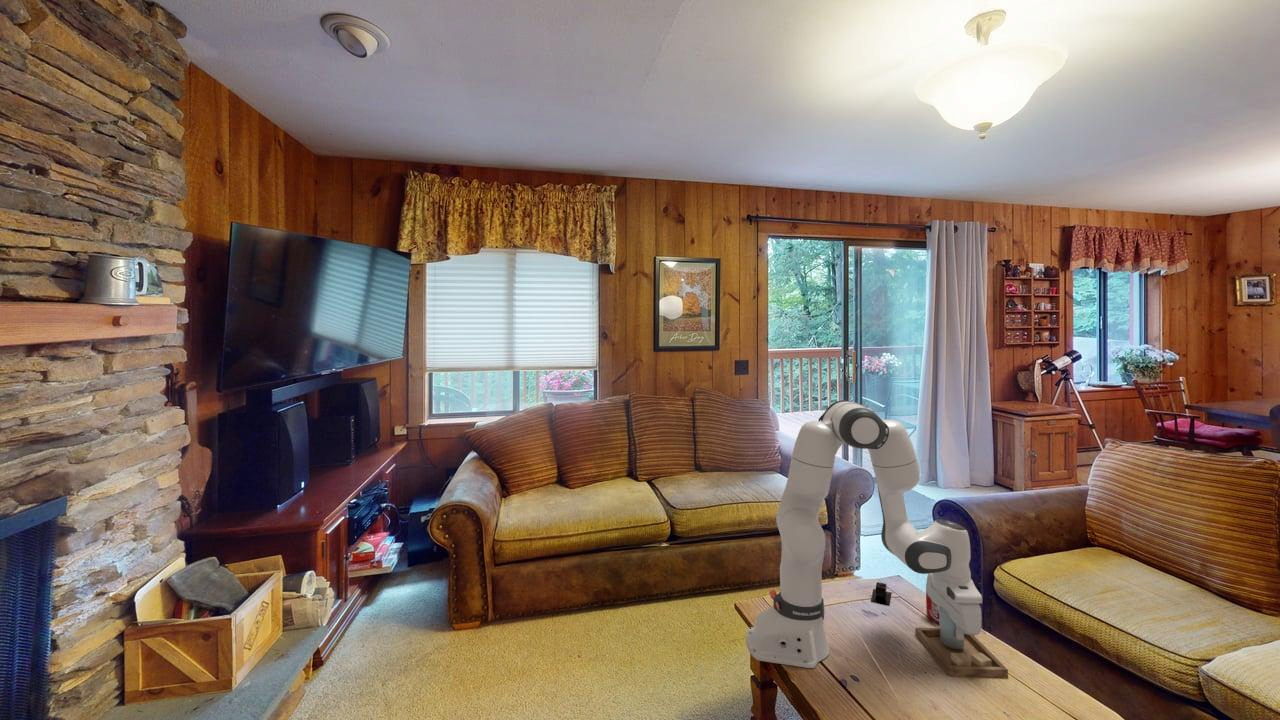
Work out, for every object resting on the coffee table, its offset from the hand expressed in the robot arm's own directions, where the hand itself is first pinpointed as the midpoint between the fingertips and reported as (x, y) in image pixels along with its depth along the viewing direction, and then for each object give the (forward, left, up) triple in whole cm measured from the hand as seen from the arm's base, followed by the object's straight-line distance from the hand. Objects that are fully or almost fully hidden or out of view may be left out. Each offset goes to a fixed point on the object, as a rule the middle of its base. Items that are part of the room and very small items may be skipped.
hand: (951, 630), depth 130 cm
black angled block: (-8, +27, -6) cm, 28 cm away
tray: (0, -3, -5) cm, 6 cm away
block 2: (+3, -9, -5) cm, 10 cm away
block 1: (-2, -9, -5) cm, 10 cm away
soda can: (+4, +14, -6) cm, 16 cm away
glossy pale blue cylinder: (0, 0, -3) cm, 3 cm away
